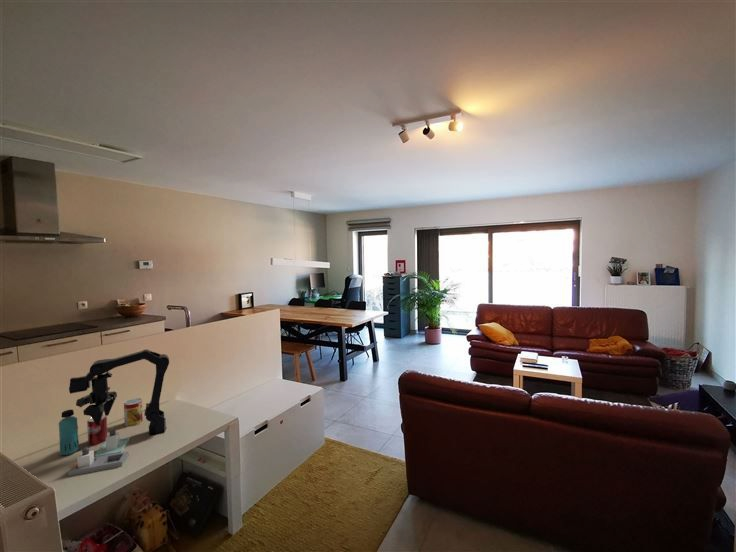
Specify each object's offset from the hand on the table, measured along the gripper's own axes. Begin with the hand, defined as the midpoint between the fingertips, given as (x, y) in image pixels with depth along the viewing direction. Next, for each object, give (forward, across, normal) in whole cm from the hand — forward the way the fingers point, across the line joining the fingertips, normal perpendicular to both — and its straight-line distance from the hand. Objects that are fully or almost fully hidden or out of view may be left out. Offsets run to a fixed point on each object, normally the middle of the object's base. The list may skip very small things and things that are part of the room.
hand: (102, 420), depth 151 cm
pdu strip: (+13, +18, +5) cm, 23 cm away
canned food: (+13, -21, +5) cm, 25 cm away
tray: (+13, +4, +5) cm, 14 cm away
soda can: (+13, -5, -4) cm, 14 cm away
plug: (+12, +4, +5) cm, 14 cm away
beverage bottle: (+12, +3, -12) cm, 18 cm away
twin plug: (+12, +18, +1) cm, 22 cm away
